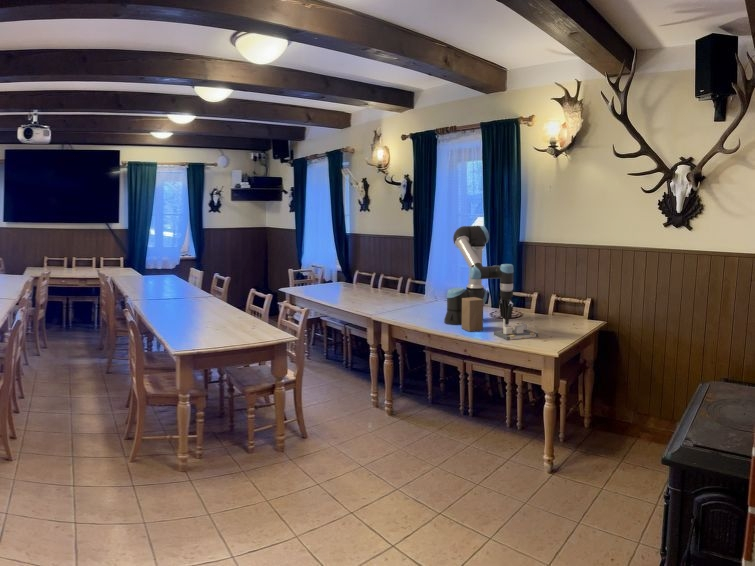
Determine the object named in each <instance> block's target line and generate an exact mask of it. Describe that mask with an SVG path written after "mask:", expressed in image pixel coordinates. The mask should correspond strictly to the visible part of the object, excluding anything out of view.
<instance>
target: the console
mask: <svg viewBox="0 0 755 566" xmlns="http://www.w3.org/2000/svg"><path fill="white" fill-rule="evenodd" d="M493 336H495V337H497V338H501V339H503V340H505V341H513V340H519V339H520V340H521V339H530V338H538V337H539V333H538V332H535V331H533V330H530V329H527V330H523V333H520V334H517V333H515V328H514V329H512V334H504V333H503V330H498V331H493Z"/></svg>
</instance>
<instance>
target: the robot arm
mask: <svg viewBox="0 0 755 566" xmlns="http://www.w3.org/2000/svg"><path fill="white" fill-rule="evenodd" d="M452 240H453V241H452V242H453V244H454V245H455V247H456V248H457V249H459V252H460V254H461V255H462V257H463V259H464V260H465V263H466V264H467V266H468V284H467V285H466V287H464V286H463V287H462V286H459V287H457V286H456V287H452V288H449V289H447V293H446V313H445V316H444V319H443V321H444V322H443V323H444V324H447V325H453V326H454V325H455V326H460V325H461V326H462V298H470V297H477V298H480V299H483V306H484V305H485V304H486V302H487V301H488V300H487V299H488V293H487V289H485V287H484V286H485V285H483V283H482V281H483V280H488V279H490V280H493V279H494V280H495V279H499V288H500V289H499V290H500V291H499V297H501V298H500V300H498V304H499V312H500V317H501V318H502V330H503V329H504V327H506V326H509V324H510V323H509V322H510V321H509V320H510V319H512V316H513V310H514V306H515V303H514V302H513V301H512V298H513V297H514V291H513V290H514V265H513V264H512V263H502V264H500V265H492V266H491V265H490V266H489V265H487V266H484V265H483V256H484V255H483V251H484V248H485V247H486V244H488V243H489V240H490V234H489V231H488V229H487V227H486V226H484V225H464V226H460V227H458V228H457V229H456V230H455V231H454V234H453V237H452Z"/></svg>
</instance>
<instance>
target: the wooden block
mask: <svg viewBox="0 0 755 566" xmlns="http://www.w3.org/2000/svg"><path fill="white" fill-rule="evenodd" d="M461 329H462V330H465V332H469V333H472V332H481V331H483V330H484V305H483V299H480V298H477V297H470V298H462V325H461Z"/></svg>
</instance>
